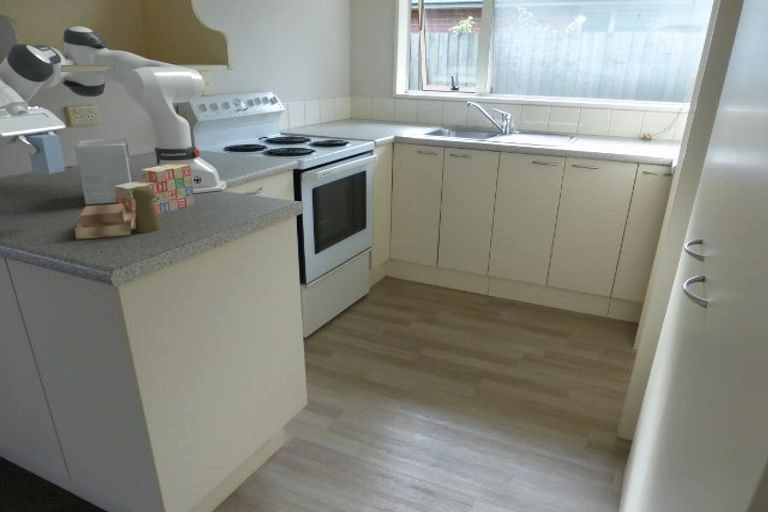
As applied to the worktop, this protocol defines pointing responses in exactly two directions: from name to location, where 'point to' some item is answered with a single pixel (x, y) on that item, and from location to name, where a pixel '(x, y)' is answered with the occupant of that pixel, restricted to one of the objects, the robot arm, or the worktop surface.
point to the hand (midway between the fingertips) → (47, 150)
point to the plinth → (105, 229)
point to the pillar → (46, 154)
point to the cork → (145, 210)
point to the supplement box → (103, 168)
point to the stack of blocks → (160, 188)
